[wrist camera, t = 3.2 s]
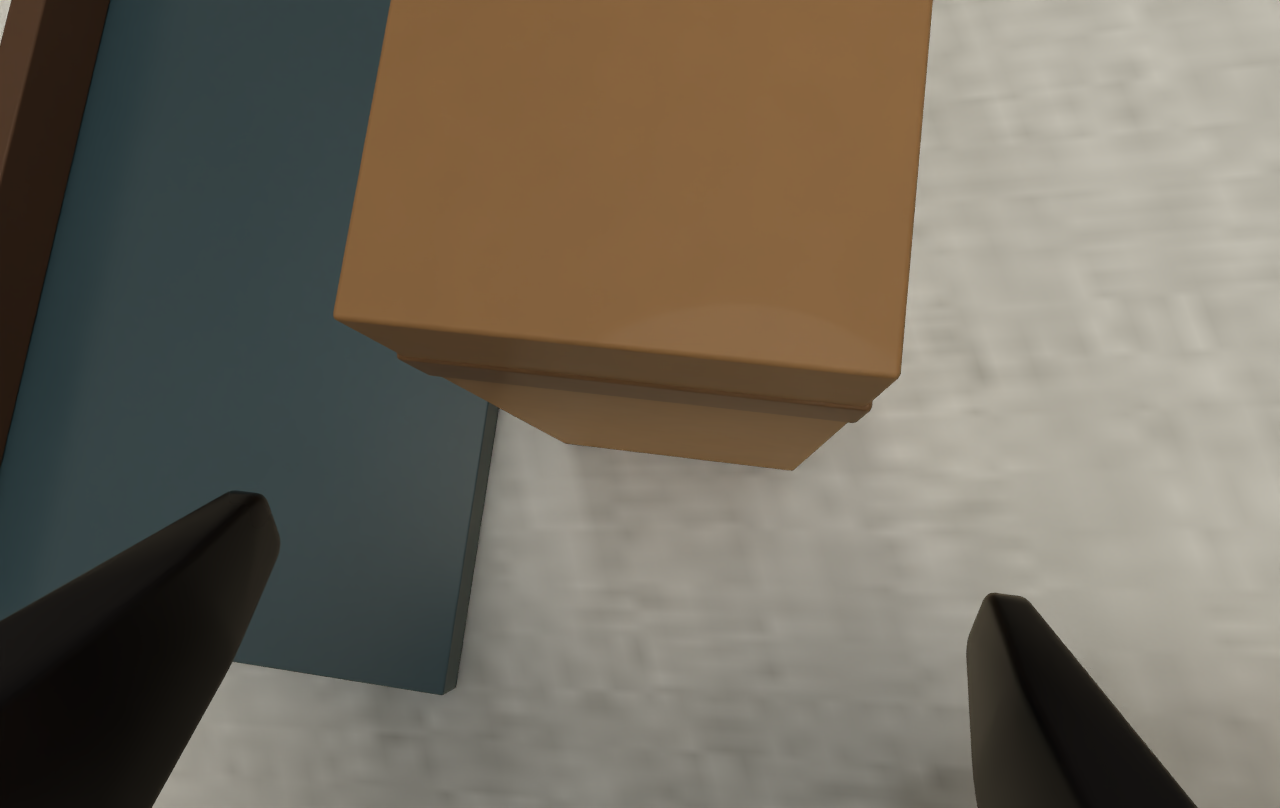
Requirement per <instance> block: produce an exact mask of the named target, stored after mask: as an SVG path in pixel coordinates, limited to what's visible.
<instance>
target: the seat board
mask: <svg viewBox="0 0 1280 808" xmlns="http://www.w3.org/2000/svg"><path fill="white" fill-rule="evenodd" d="M390 2H391V0H11V4H10V8H9V12H8V16H7V20H6V24H5V28H4V32H3V36H2V40H1V44H0V621H1V620H3V619H4V618H6V617H8V616H10V615H11V614H13V613H15V612H17V611H18V610H20V609H22V608H24V607H26V606H27V605H29V604H31V603H33V602H34V601H36V600H38V599H40V598H41V597H43V596H45V595H47V594H48V593H50V592H52V591H54V590H55V589H57V588H59V587H61V586H63V585H64V584H66V583H68V582H70V581H71V580H73V579H75V578H77V577H78V576H80V575H82V574H84V573H85V572H87V571H89V570H91V569H92V568H94V567H96V566H98V565H99V564H101V563H103V562H105V561H107V560H108V559H110V558H112V557H114V556H115V555H117V554H119V553H121V552H122V551H124V550H126V549H128V548H129V547H131V546H133V545H135V544H136V543H138V542H140V541H142V540H143V539H145V538H147V537H149V536H151V535H152V534H154V533H156V532H158V531H159V530H161V529H163V528H165V527H166V526H168V525H170V524H172V523H173V522H175V521H177V520H179V519H180V518H182V517H184V516H186V515H187V514H189V513H191V512H193V511H195V510H196V509H198V508H200V507H202V506H203V505H205V504H207V503H209V502H210V501H212V500H214V499H216V498H217V497H219V496H221V495H223V494H225V493H227V492H229V491H234V490H238V491H246V492H253V493H259V494H262V495H263V496H264V497H265V498H266V499H267V501H268V503H269V506H270V509H271V512H272V515H273V518H274V521H275V523H276V526H277V529H278V532H279V535H280V542H281V545H280V552H279V555H278V558H277V560H276V563H275V565H274V567H273V570H272V572H271V575H270V577H269V579H268V582H267V584H266V586H265V589H264V591H263V593H262V596H261V598H260V600H259V603H258V605H257V607H256V610H255V612H254V614H253V617H252V619H251V621H250V624H249V626H248V628H247V631H246V633H245V636H244V638H243V640H242V643H241V645H240V647H239V649H238V651H237V653H236V655H235V658H234V660H233V662H238V663H244V664H250V665H257V666H263V667H269V668H275V669H282V670H288V671H294V672H300V673H307V674H313V675H319V676H325V677H331V678H338V679H344V680H350V681H356V682H363V683H369V684H375V685H381V686H388V687H394V688H400V689H406V690H413V691H419V692H425V693H431V694H438V695H444V694H445V693H447V692H449V691H450V690H452V689H454V688H455V687H456V682H457V676H458V669H459V663H460V656H461V650H462V643H463V637H464V630H465V624H466V617H467V611H468V604H469V598H470V591H471V585H472V578H473V572H474V565H475V558H476V552H477V545H478V539H479V532H480V526H481V519H482V513H483V506H484V500H485V493H486V487H487V480H488V474H489V467H490V461H491V454H492V448H493V441H494V435H495V428H496V421H497V415H498V408H499V407H497V406H495V405H493V404H491V403H489V402H487V401H486V400H484V399H482V398H480V397H478V396H476V395H474V394H473V393H471V392H469V391H467V390H465V389H463V388H461V387H460V386H458V385H456V384H454V383H452V382H450V381H448V380H447V379H445V378H443V377H438V376H430V375H428V374H426V373H424V372H422V371H420V370H418V369H416V368H414V367H412V366H410V365H408V364H407V363H405V362H403V361H401V360H399V359H398V358H397V353H396V352H395V351H393V350H391V349H389V348H387V347H385V346H383V345H382V344H380V343H378V342H376V341H374V340H372V339H370V338H369V337H367V336H365V335H363V334H361V333H359V332H357V331H356V330H354V329H352V328H350V327H348V326H346V325H344V324H343V323H341V322H339V321H337V320H335V319H334V317H333V311H334V306H335V301H336V295H337V290H338V284H339V279H340V273H341V268H342V263H343V257H344V252H345V246H346V241H347V235H348V230H349V224H350V219H351V214H352V208H353V203H354V197H355V192H356V186H357V181H358V176H359V170H360V165H361V159H362V154H363V148H364V143H365V138H366V132H367V127H368V121H369V116H370V110H371V105H372V100H373V94H374V89H375V83H376V78H377V72H378V67H379V61H380V56H381V51H382V45H383V40H384V34H385V29H386V23H387V18H388V13H389V7H390Z"/></svg>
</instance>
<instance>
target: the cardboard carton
mask: <svg viewBox="0 0 1280 808" xmlns="http://www.w3.org/2000/svg"><path fill="white" fill-rule="evenodd" d="M932 3H933V0H391V2H390V7H389V13H388V18H387V23H386V29H385V34H384V40H383V45H382V51H381V56H380V61H379V67H378V72H377V78H376V83H375V89H374V94H373V100H372V105H371V110H370V116H369V121H368V127H367V132H366V138H365V143H364V148H363V154H362V159H361V165H360V170H359V176H358V181H357V186H356V192H355V197H354V203H353V208H352V214H351V219H350V224H349V230H348V235H347V241H346V246H345V252H344V257H343V263H342V268H341V273H340V279H339V284H338V290H337V295H336V301H335V306H334V311H333V317H334V319H335V320H337V321H339V322H341V323H343V324H344V325H346V326H348V327H350V328H352V329H354V330H356V331H357V332H359V333H361V334H363V335H365V336H367V337H369V338H370V339H372V340H374V341H376V342H378V343H380V344H382V345H383V346H385V347H387V348H389V349H391V350H393V351H395V352H396V353H397V358H398V359H399V360H401V361H403V362H405V363H407V364H408V365H410V366H412V367H414V368H416V369H418V370H420V371H422V372H424V373H426V374H428V375H430V376H438V377H443V378H445V379H447V380H448V381H450V382H452V383H454V384H456V385H458V386H460V387H461V388H463V389H465V390H467V391H469V392H471V393H473V394H474V395H476V396H478V397H480V398H482V399H484V400H486V401H487V402H489V403H491V404H493V405H495V406H497V407H499V408H500V409H502V410H504V411H506V412H508V413H510V414H512V415H513V416H515V417H517V418H519V419H521V420H523V421H525V422H526V423H528V424H530V425H532V426H534V427H536V428H538V429H539V430H541V431H543V432H545V433H547V434H549V435H551V436H552V437H554V438H556V439H558V440H560V441H562V442H564V443H566V444H575V445H583V446H591V447H600V448H608V449H616V450H625V451H633V452H641V453H650V454H658V455H666V456H675V457H683V458H691V459H700V460H708V461H716V462H725V463H733V464H741V465H750V466H758V467H766V468H775V469H783V470H791V471H792V470H794V469H795V468H796V467H797V466H799V465H800V464H801V463H802V462H803V461H804V460H805V459H807V458H808V457H809V456H810V455H811V454H812V453H813V452H815V451H816V450H817V449H818V448H819V447H820V446H821V445H823V444H824V443H825V442H826V441H827V440H828V439H829V438H831V437H832V436H833V435H834V434H835V433H836V432H837V431H839V430H840V429H841V428H842V427H843V426H844V425H845V424H846V423H848V422H849V423H854V422H857V421H858V420H859V419H861V418H862V417H863V416H864V415H865V414H867V413H868V412H869V411H870V410H871V408H872V401H873V400H874V399H875V398H876V397H877V396H878V395H880V394H881V393H882V392H883V391H884V390H885V389H886V388H888V387H889V386H890V385H891V384H892V383H893V382H894V381H895V380H897V379H898V378H899V376H900V374H901V363H902V351H903V339H904V328H905V316H906V305H907V293H908V281H909V270H910V258H911V247H912V235H913V223H914V212H915V200H916V189H917V177H918V166H919V154H920V142H921V131H922V119H923V108H924V96H925V84H926V73H927V61H928V50H929V38H930V26H931V15H932Z"/></svg>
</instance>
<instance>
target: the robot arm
mask: <svg viewBox="0 0 1280 808" xmlns="http://www.w3.org/2000/svg"><path fill="white" fill-rule="evenodd" d="M280 545H281V542H280V535H279V532H278V529H277V526H276V523H275V521H274V518H273V515H272V512H271V509H270V506H269V503H268V501H267V499H266V498H265V497H264V496H263V495H262V494H259V493H253V492H246V491H238V490H234V491H229V492H227V493H225V494H223V495H221V496H219V497H217V498H216V499H214V500H212V501H210V502H209V503H207V504H205V505H203V506H202V507H200V508H198V509H196V510H195V511H193V512H191V513H189V514H187V515H186V516H184V517H182V518H180V519H179V520H177V521H175V522H173V523H172V524H170V525H168V526H166V527H165V528H163V529H161V530H159V531H158V532H156V533H154V534H152V535H151V536H149V537H147V538H145V539H143V540H142V541H140V542H138V543H136V544H135V545H133V546H131V547H129V548H128V549H126V550H124V551H122V552H121V553H119V554H117V555H115V556H114V557H112V558H110V559H108V560H107V561H105V562H103V563H101V564H99V565H98V566H96V567H94V568H92V569H91V570H89V571H87V572H85V573H84V574H82V575H80V576H78V577H77V578H75V579H73V580H71V581H70V582H68V583H66V584H64V585H63V586H61V587H59V588H57V589H55V590H54V591H52V592H50V593H48V594H47V595H45V596H43V597H41V598H40V599H38V600H36V601H34V602H33V603H31V604H29V605H27V606H26V607H24V608H22V609H20V610H18V611H17V612H15V613H13V614H11V615H10V616H8V617H6V618H4V619H3V620H1V621H0V808H152V806H153V804H154V803H155V801H156V799H157V797H158V795H159V794H160V792H161V790H162V788H163V786H164V785H165V783H166V781H167V779H168V777H169V776H170V774H171V772H172V770H173V768H174V767H175V765H176V763H177V761H178V759H179V758H180V756H181V754H182V752H183V750H184V749H185V747H186V745H187V743H188V742H189V740H190V738H191V736H192V734H193V733H194V731H195V729H196V727H197V725H198V724H199V722H200V720H201V718H202V716H203V715H204V713H205V711H206V709H207V707H208V706H209V704H210V702H211V700H212V698H213V697H214V695H215V693H216V691H217V689H218V688H219V686H220V684H221V682H222V680H223V679H224V677H225V675H226V673H227V671H228V669H229V667H230V665H231V664H232V662H233V660H234V658H235V655H236V653H237V651H238V649H239V647H240V645H241V643H242V640H243V638H244V636H245V633H246V631H247V628H248V626H249V624H250V621H251V619H252V617H253V614H254V612H255V610H256V607H257V605H258V603H259V600H260V598H261V596H262V593H263V591H264V589H265V586H266V584H267V582H268V579H269V577H270V575H271V572H272V570H273V567H274V565H275V563H276V560H277V558H278V555H279V552H280ZM966 658H967V676H968V695H969V714H970V732H971V751H972V767H973V780H974V787H975V794H976V801H977V807H978V808H1197V806H1196V805H1195V804H1194V803H1193V801H1192V800H1191V799H1190V798H1189V797H1188V795H1187V794H1186V793H1185V792H1184V790H1183V789H1182V788H1181V787H1180V786H1179V784H1178V783H1177V782H1176V781H1175V779H1174V778H1173V777H1172V776H1171V775H1170V773H1169V772H1168V771H1167V770H1166V768H1165V767H1164V766H1163V765H1162V763H1161V762H1160V761H1159V760H1158V759H1157V757H1156V756H1155V755H1154V754H1153V752H1152V751H1151V750H1150V749H1149V748H1148V746H1147V745H1146V744H1145V743H1144V741H1143V740H1142V739H1141V738H1140V737H1139V735H1138V734H1137V733H1136V732H1135V730H1134V729H1133V728H1132V727H1131V726H1130V724H1129V723H1128V722H1127V721H1126V719H1125V718H1124V717H1123V716H1122V714H1121V713H1120V712H1119V711H1118V710H1117V708H1116V707H1115V706H1114V705H1113V703H1112V702H1111V701H1110V700H1109V699H1108V697H1107V696H1106V695H1105V694H1104V692H1103V691H1102V690H1101V689H1100V688H1099V686H1098V685H1097V684H1096V683H1095V681H1094V680H1093V679H1092V678H1091V676H1090V675H1089V674H1088V673H1087V672H1086V670H1085V669H1084V668H1083V667H1082V665H1081V664H1080V663H1079V662H1078V661H1077V659H1076V658H1075V657H1074V656H1073V654H1072V653H1071V652H1070V651H1069V650H1068V648H1067V647H1066V646H1065V645H1064V643H1063V642H1062V641H1061V640H1060V638H1059V637H1058V636H1057V635H1056V634H1055V632H1054V631H1053V630H1052V629H1051V627H1050V626H1049V625H1048V624H1047V623H1046V621H1045V620H1044V619H1043V618H1042V616H1041V615H1040V614H1039V613H1038V612H1037V610H1036V609H1035V608H1034V607H1033V605H1032V604H1031V603H1030V602H1029V601H1028V600H1026V599H1025V598H1023V597H1021V596H1015V595H1007V594H1000V593H990V594H988V595H987V596H986V597H985V598H984V600H983V602H982V605H981V607H980V609H979V612H978V614H977V617H976V619H975V622H974V624H973V627H972V629H971V631H970V634H969V637H968V641H967V651H966Z"/></svg>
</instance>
